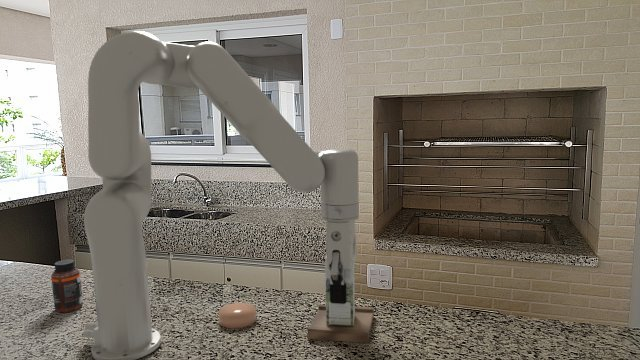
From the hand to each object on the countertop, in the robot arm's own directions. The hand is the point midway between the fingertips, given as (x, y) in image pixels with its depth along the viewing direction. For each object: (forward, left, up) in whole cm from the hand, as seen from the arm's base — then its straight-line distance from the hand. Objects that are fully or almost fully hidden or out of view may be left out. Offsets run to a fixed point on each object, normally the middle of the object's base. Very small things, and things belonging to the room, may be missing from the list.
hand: (341, 295), depth 99 cm
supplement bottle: (-65, 0, -7) cm, 65 cm away
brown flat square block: (0, 0, -7) cm, 7 cm away
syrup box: (0, 0, -6) cm, 6 cm away
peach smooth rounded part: (-23, 0, -7) cm, 24 cm away
